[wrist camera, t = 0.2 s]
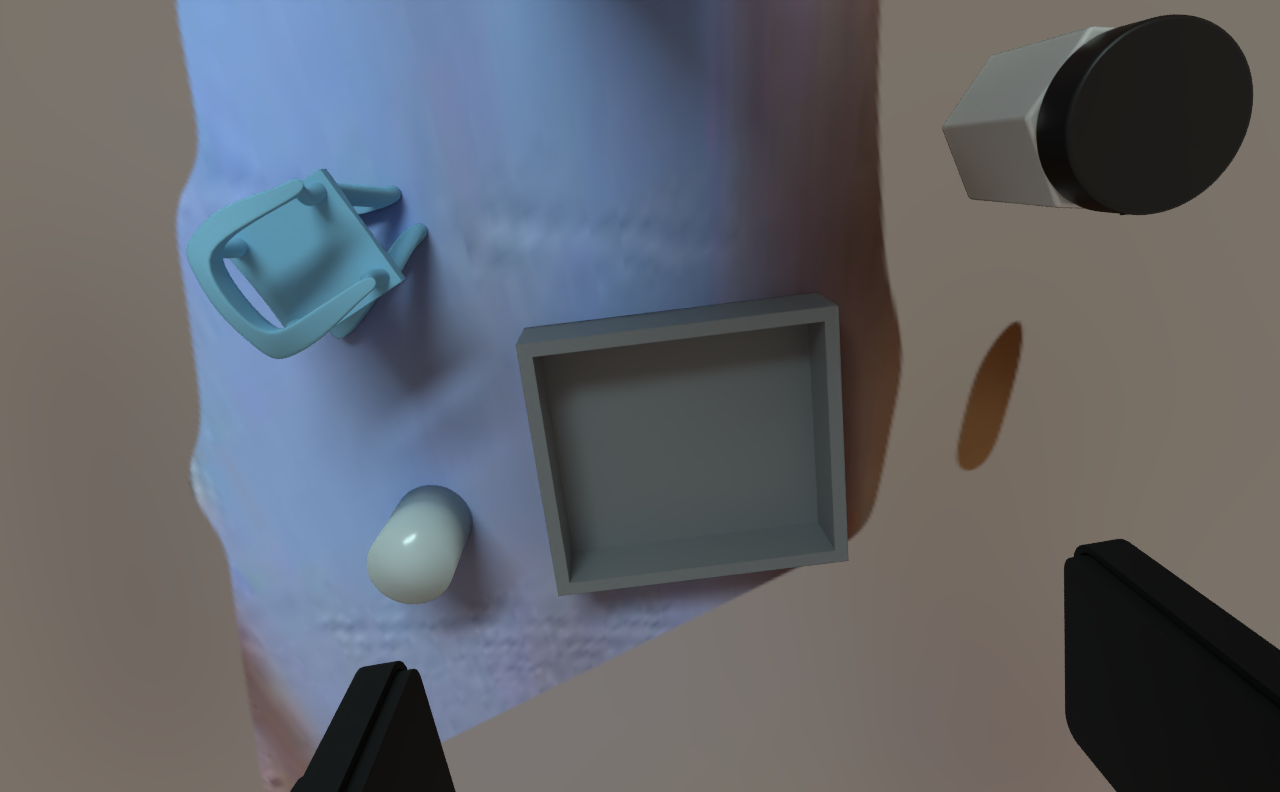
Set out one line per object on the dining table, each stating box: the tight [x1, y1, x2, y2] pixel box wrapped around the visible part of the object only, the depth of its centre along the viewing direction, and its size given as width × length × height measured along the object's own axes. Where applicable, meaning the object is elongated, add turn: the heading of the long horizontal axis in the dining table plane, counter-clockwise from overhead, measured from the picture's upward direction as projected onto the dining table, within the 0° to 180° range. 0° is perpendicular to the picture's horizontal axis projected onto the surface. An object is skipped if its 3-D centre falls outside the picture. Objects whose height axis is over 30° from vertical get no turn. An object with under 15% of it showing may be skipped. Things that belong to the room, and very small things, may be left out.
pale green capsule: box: [367, 485, 472, 604], centre depth 47 cm, size 5×5×6 cm
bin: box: [516, 292, 848, 596], centre depth 46 cm, size 16×18×4 cm
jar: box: [943, 15, 1253, 215], centre depth 38 cm, size 9×8×12 cm
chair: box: [186, 169, 428, 359], centre depth 38 cm, size 8×8×12 cm
